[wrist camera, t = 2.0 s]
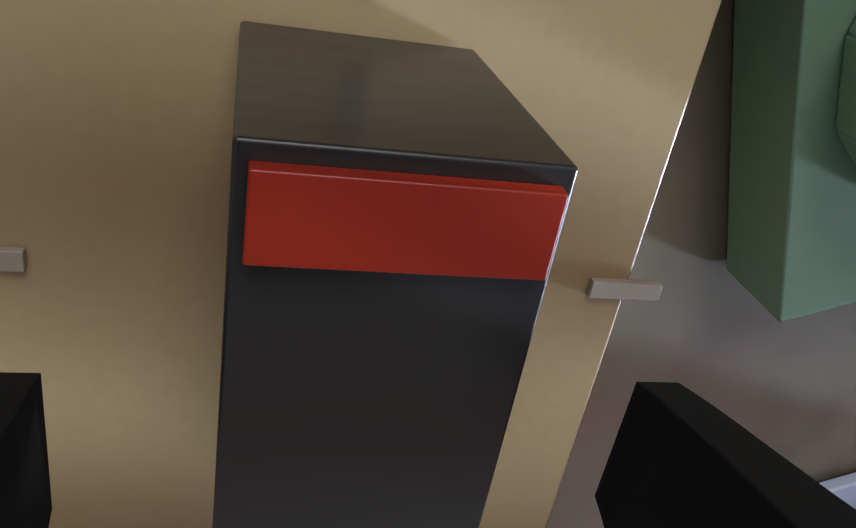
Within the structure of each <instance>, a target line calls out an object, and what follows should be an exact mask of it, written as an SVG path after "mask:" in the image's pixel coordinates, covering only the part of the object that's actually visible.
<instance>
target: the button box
mask: <svg viewBox="0 0 856 528" xmlns="http://www.w3.org/2000/svg"><path fill="white" fill-rule="evenodd" d="M727 270H728V271H729V272H730V273H731V274H732V275H733V276H734V277H735V278H736V279H737V280H738V281H739V282H740V283H741V284H742V285H743V286H744V287H745V288H746V289H747V290H748V291H749V292H750V293H751V294H752V295H753V296H754V297H755V298H756V299H757V300H758V301H759V302H760V303H761V304H762V305H763V306H764V307H765V308H766V309H767V310H768V311H769V312H770V313H771V314H772V315H773V316H774V317H775V318H776V319H777V320H778V321H780V322H783V321H787V320H791V319H794V318H798V317H802V316H805V315H809V314H813V313H817V312H820V311H824V310H828V309H831V308H835V307H839V306H843V305H846V304H850V303H854V302H856V0H735V6H734V39H733V72H732V105H731V138H730V171H729V204H728V237H727Z"/></svg>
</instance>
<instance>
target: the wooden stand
mask: <svg viewBox="0 0 856 528" xmlns="http://www.w3.org/2000/svg"><path fill="white" fill-rule="evenodd" d="M721 1H722V0H0V372H13V373H41V381H42V392H43V404H44V416H45V428H46V440H47V452H48V464H49V476H50V488H51V499H52V512H51V517H50V522H49V527H48V528H212V527H213V507H214V488H215V468H216V449H217V429H218V410H219V390H220V371H221V351H222V332H223V312H224V293H225V273H226V253H227V234H228V214H229V195H230V175H231V156H232V137H233V122H234V108H235V93H236V78H237V63H238V48H239V33H240V23H241V22H242V21H248V22H256V23H264V24H272V25H280V26H288V27H296V28H304V29H312V30H320V31H328V32H336V33H344V34H352V35H360V36H368V37H376V38H384V39H392V40H400V41H408V42H416V43H424V44H433V45H441V46H449V47H457V48H465V49H472V50H474V51H475V52H476V53H477V54H478V55H479V57H480V58H481V59H482V60H483V61H484V62H485V63H486V64H487V66H488V67H489V68H490V69H491V70H492V71H493V72H494V74H495V75H496V76H497V77H498V78H499V79H500V80H501V81H502V83H503V84H504V85H505V86H506V87H507V88H508V89H509V90H510V92H511V93H512V94H513V95H514V96H515V97H516V98H517V100H518V101H519V102H520V103H521V104H522V105H523V106H524V107H525V109H526V110H527V111H528V112H529V113H530V114H531V115H532V116H533V118H534V119H535V120H536V121H537V122H538V123H539V124H540V125H541V127H542V128H543V129H544V130H545V131H546V132H547V133H548V135H549V136H550V137H551V138H552V139H553V140H554V141H555V142H556V144H557V145H558V146H559V147H560V148H561V149H562V150H563V151H564V153H565V154H566V155H567V156H568V157H569V158H570V159H571V161H572V162H573V163H574V164H575V165H576V166H577V168H578V173H577V176H576V180H575V183H574V187H573V191H572V194H571V198H570V201H569V205H568V209H567V212H566V216H565V219H564V223H563V227H562V230H561V234H560V237H559V241H558V245H557V248H556V252H555V255H554V259H553V263H552V266H551V270H550V273H549V277H548V281H547V284H546V288H545V291H544V295H543V299H542V302H541V306H540V309H539V313H538V317H537V320H536V324H535V327H534V331H533V335H532V338H531V342H530V345H529V349H528V353H527V356H526V360H525V363H524V367H523V371H522V374H521V378H520V381H519V385H518V389H517V392H516V396H515V399H514V403H513V407H512V410H511V414H510V417H509V421H508V425H507V428H506V432H505V435H504V439H503V443H502V446H501V450H500V453H499V457H498V461H497V464H496V468H495V471H494V475H493V479H492V482H491V486H490V489H489V493H488V497H487V500H486V504H485V508H484V511H483V515H482V518H481V522H480V526H479V528H546V525H547V522H548V519H549V516H550V513H551V510H552V507H553V504H554V501H555V498H556V495H557V492H558V489H559V486H560V483H561V480H562V477H563V474H564V471H565V468H566V465H567V462H568V459H569V456H570V453H571V450H572V447H573V444H574V441H575V438H576V435H577V432H578V429H579V426H580V423H581V420H582V417H583V414H584V411H585V408H586V405H587V402H588V399H589V396H590V393H591V390H592V387H593V384H594V381H595V378H596V375H597V372H598V369H599V366H600V363H601V360H602V357H603V354H604V351H605V348H606V345H607V342H608V339H609V336H610V333H611V330H612V327H613V324H614V321H615V318H616V315H617V312H618V309H619V306H620V303H621V300H644V301H657V300H658V298H659V295H660V292H661V289H662V286H663V285H662V283H661V282H660V281H649V280H630V279H629V277H630V274H631V271H632V268H633V265H634V262H635V259H636V256H637V253H638V250H639V247H640V244H641V241H642V238H643V235H644V232H645V229H646V226H647V223H648V220H649V217H650V214H651V211H652V208H653V205H654V202H655V199H656V196H657V193H658V190H659V187H660V184H661V181H662V178H663V175H664V172H665V169H666V166H667V163H668V160H669V157H670V154H671V151H672V148H673V145H674V142H675V139H676V136H677V133H678V130H679V127H680V124H681V121H682V118H683V115H684V112H685V109H686V106H687V103H688V100H689V97H690V94H691V91H692V88H693V85H694V82H695V79H696V76H697V73H698V70H699V67H700V64H701V61H702V58H703V55H704V52H705V49H706V46H707V43H708V40H709V37H710V34H711V31H712V28H713V25H714V22H715V19H716V16H717V13H718V10H719V7H720V4H721Z"/></svg>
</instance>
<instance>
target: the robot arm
mask: <svg viewBox="0 0 856 528" xmlns="http://www.w3.org/2000/svg"><path fill="white" fill-rule="evenodd" d="M595 497H596V501H597V504H598V507H599V511H600V514H601V518H602V521H603V524H604V528H856V472H854V473H851V474H847V475H844V476H840V477H837V478H833V479H830V480H826V481H823V482H819V483H818V482H817V481H815V480H814V479H813V478H811V477H810V476H808V475H807V474H806V473H804V472H803V471H802V470H800V469H799V468H797V467H796V466H795V465H793V464H792V463H791V462H789V461H788V460H787V459H785V458H784V457H782V456H781V455H780V454H778V453H777V452H776V451H774V450H773V449H772V448H770V447H769V446H768V445H766V444H765V443H763V442H762V441H761V440H759V439H758V438H757V437H755V436H754V435H753V434H751V433H750V432H749V431H747V430H746V429H745V428H743V427H742V426H740V425H739V424H738V423H736V422H735V421H734V420H732V419H731V418H729V417H728V416H727V415H725V414H724V413H722V412H721V411H720V410H718V409H717V408H716V407H714V406H713V405H711V404H710V403H708V402H707V401H706V400H704V399H703V398H701V397H700V396H698V395H697V394H695V393H694V392H692V391H690V390H689V389H687V388H686V387H684V386H683V385H681V384H679V383H665V382H636V385H635V388H634V391H633V393H632V396H631V399H630V401H629V404H628V407H627V410H626V412H625V415H624V418H623V420H622V423H621V426H620V429H619V431H618V434H617V437H616V440H615V442H614V445H613V448H612V450H611V453H610V456H609V459H608V461H607V464H606V467H605V469H604V472H603V475H602V478H601V480H600V483H599V486H598V488H597V491H596V494H595ZM51 512H52V499H51V488H50V476H49V464H48V452H47V440H46V428H45V416H44V404H43V392H42V381H41V373H13V372H0V528H48V527H49V522H50V517H51Z"/></svg>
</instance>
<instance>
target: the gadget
mask: <svg viewBox="0 0 856 528" xmlns="http://www.w3.org/2000/svg"><path fill="white" fill-rule="evenodd" d="M577 173H578V168H577V166H576V165H575V164H574V163H573V162H572V161H571V159H570V158H569V157H568V156H567V155H566V154H565V153H564V151H563V150H562V149H561V148H560V147H559V146H558V145H557V144H556V142H555V141H554V140H553V139H552V138H551V137H550V136H549V135H548V133H547V132H546V131H545V130H544V129H543V128H542V127H541V125H540V124H539V123H538V122H537V121H536V120H535V119H534V118H533V116H532V115H531V114H530V113H529V112H528V111H527V110H526V109H525V107H524V106H523V105H522V104H521V103H520V102H519V101H518V100H517V98H516V97H515V96H514V95H513V94H512V93H511V92H510V90H509V89H508V88H507V87H506V86H505V85H504V84H503V83H502V81H501V80H500V79H499V78H498V77H497V76H496V75H495V74H494V72H493V71H492V70H491V69H490V68H489V67H488V66H487V64H486V63H485V62H484V61H483V60H482V59H481V58H480V57H479V55H478V54H477V53H476V52H475V51H474V50H472V49H465V48H457V47H449V46H441V45H433V44H424V43H416V42H408V41H400V40H392V39H384V38H376V37H368V36H360V35H352V34H344V33H336V32H328V31H320V30H312V29H304V28H296V27H288V26H280V25H272V24H264V23H256V22H248V21H242V22H241V23H240V33H239V48H238V63H237V78H236V93H235V108H234V122H233V137H232V156H231V175H230V195H229V214H228V234H227V253H226V273H225V293H224V312H223V332H222V351H221V371H220V390H219V410H218V429H217V449H216V468H215V488H214V507H213V527H212V528H479V526H480V522H481V518H482V515H483V511H484V508H485V504H486V500H487V497H488V493H489V489H490V486H491V482H492V479H493V475H494V471H495V468H496V464H497V461H498V457H499V453H500V450H501V446H502V443H503V439H504V435H505V432H506V428H507V425H508V421H509V417H510V414H511V410H512V407H513V403H514V399H515V396H516V392H517V389H518V385H519V381H520V378H521V374H522V371H523V367H524V363H525V360H526V356H527V353H528V349H529V345H530V342H531V338H532V335H533V331H534V327H535V324H536V320H537V317H538V313H539V309H540V306H541V302H542V299H543V295H544V291H545V288H546V284H547V281H548V277H549V273H550V270H551V266H552V263H553V259H554V255H555V252H556V248H557V245H558V241H559V237H560V234H561V230H562V227H563V223H564V219H565V216H566V212H567V209H568V205H569V201H570V198H571V194H572V191H573V187H574V183H575V180H576V176H577Z"/></svg>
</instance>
